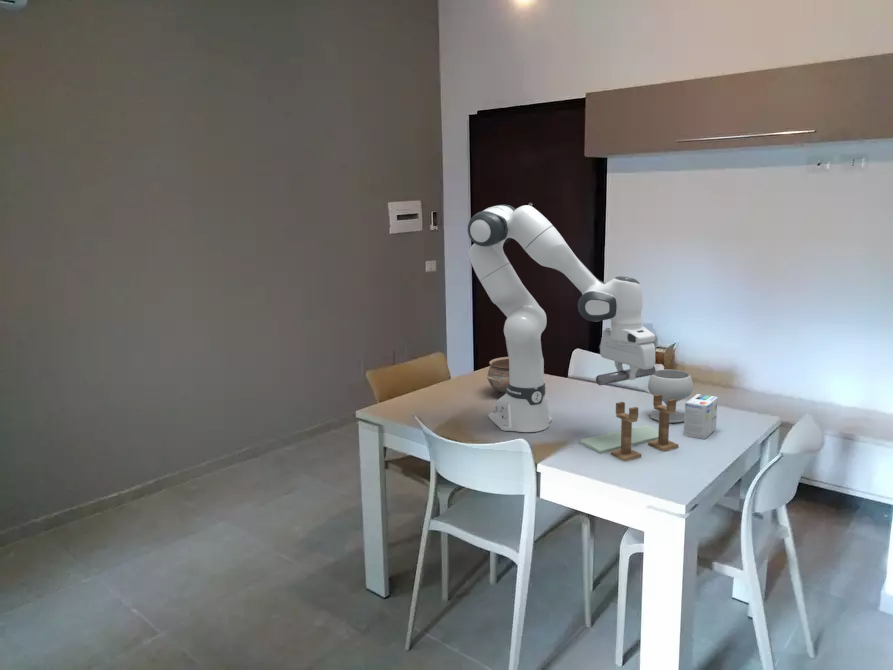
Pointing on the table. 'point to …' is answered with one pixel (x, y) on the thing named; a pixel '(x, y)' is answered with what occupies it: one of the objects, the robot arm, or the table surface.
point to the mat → (614, 439)
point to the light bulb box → (700, 416)
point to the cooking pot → (499, 374)
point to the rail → (622, 376)
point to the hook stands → (627, 420)
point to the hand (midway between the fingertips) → (626, 377)
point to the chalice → (670, 389)
